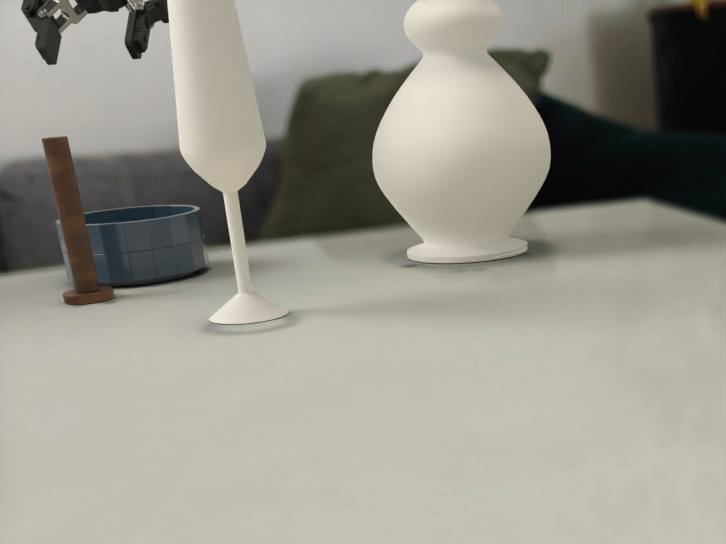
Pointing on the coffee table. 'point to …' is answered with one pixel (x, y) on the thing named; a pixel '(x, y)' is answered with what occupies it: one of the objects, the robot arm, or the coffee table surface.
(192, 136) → the champagne flute
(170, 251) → the bowl
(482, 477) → the coffee table surface
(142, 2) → the robot arm
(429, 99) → the decorative vase
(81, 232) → the stirring stick
